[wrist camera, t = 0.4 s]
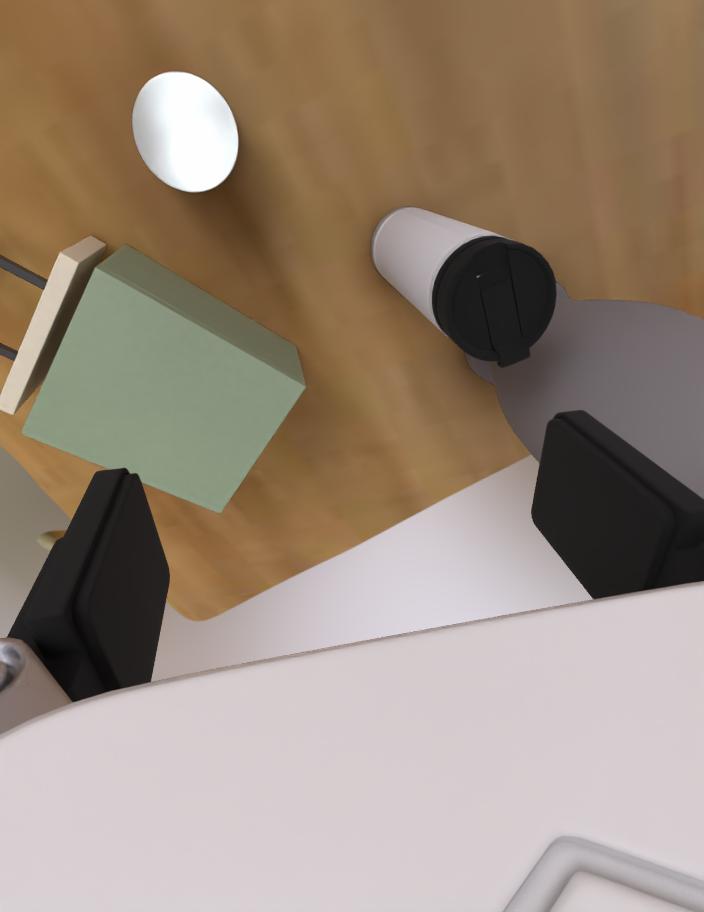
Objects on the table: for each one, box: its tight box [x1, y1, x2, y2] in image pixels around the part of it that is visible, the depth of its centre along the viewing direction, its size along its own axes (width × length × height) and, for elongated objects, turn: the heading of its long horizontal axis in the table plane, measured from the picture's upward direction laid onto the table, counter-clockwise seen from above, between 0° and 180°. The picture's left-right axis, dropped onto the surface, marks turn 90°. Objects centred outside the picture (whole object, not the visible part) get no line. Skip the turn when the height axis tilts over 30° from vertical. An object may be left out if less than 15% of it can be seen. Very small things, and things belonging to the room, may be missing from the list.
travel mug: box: [371, 206, 557, 368], centre depth 34 cm, size 6×7×20 cm
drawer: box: [0, 236, 106, 415], centre depth 38 cm, size 20×13×7 cm, turn 55°
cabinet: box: [21, 244, 306, 514], centre depth 41 cm, size 16×14×9 cm
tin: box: [132, 71, 239, 193], centre depth 34 cm, size 7×7×5 cm
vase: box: [465, 282, 704, 499], centre depth 34 cm, size 13×13×35 cm
